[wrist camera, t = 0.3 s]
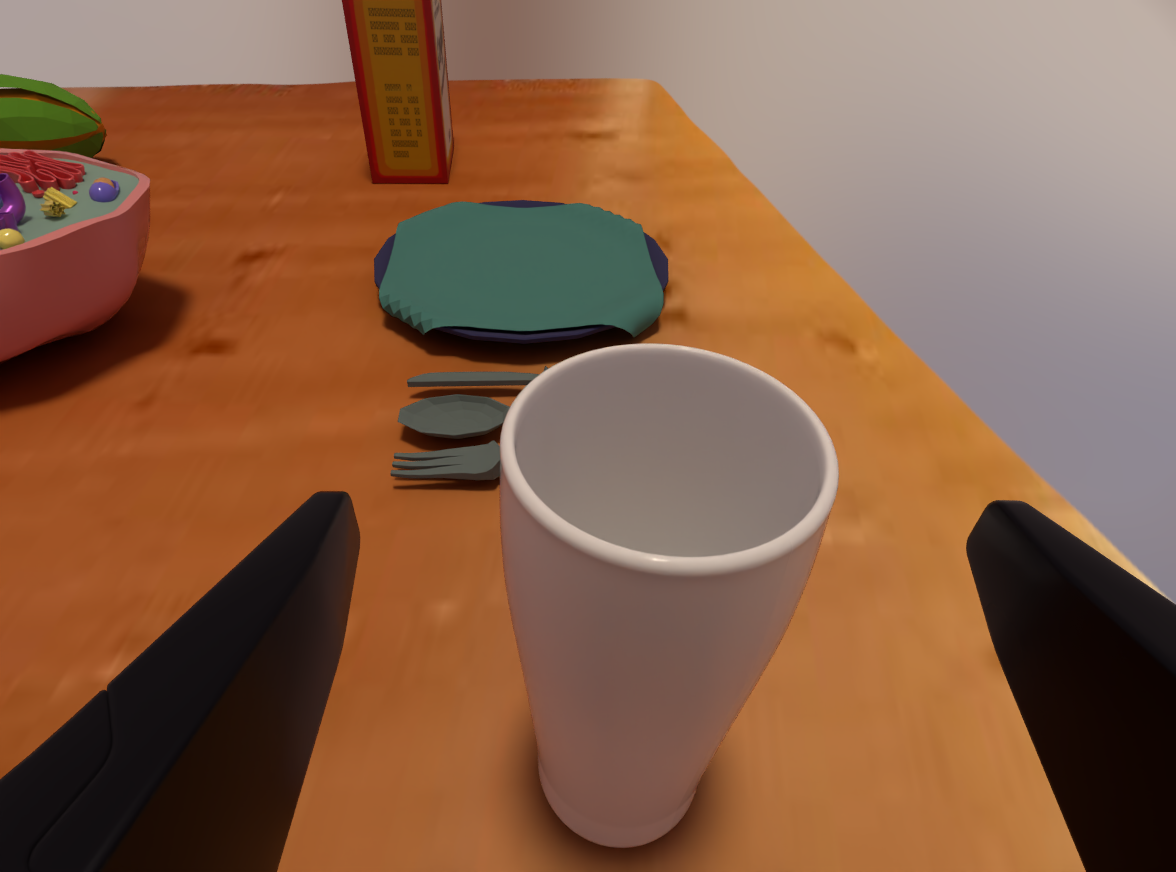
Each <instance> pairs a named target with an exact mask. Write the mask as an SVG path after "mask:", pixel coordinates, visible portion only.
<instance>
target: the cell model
mask: <svg viewBox="0 0 1176 872" xmlns="http://www.w3.org/2000/svg"><path fill="white" fill-rule="evenodd" d="M149 228H150V179H149V178H148V177H146V176H145V175H144V174H141V173H138V172H136V171H133V170H130V169H127V168H123V167H120V166H116V165H113V164H109V163H106V162H102V161H99V160H96V159H92V158H89V157H86V156H82V155H79V154H74V153H69V152H63V151H49V150H24V149H2V148H0V364H1V363H3V362H6V361H8V360H10V359H12V358H14V357H16V356H18V355H20V354H23V353H25V352H27V351H29V350H31V349H33V348H36V347H39V346H42V345H45V344H48V343H51V342H54V341H57V340H59V339H62V338H67V337H72V336H77V335H82V334H84V333H87V332H90V331H93V330H95V329H96V328H98V327H100V326H101V325H103V324H104V323H106V322H107V321H108V320H110V319H111V318H112V317H113V316H114V315H115V314H116V313H117V312H118V311H119V310H120V309H121V308H122V307H123V305H124V304H125V303H126V302H127V300H128V299H129V297H130V296H131V294H132V292H133V290H134V288H135V285H136V282H137V278H138V274H139V272H140V270H141V267H142V264H143V261H144V257H145V253H146V248H147V243H148V238H149Z"/></svg>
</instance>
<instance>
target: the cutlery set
mask: <svg viewBox="0 0 1176 872" xmlns="http://www.w3.org/2000/svg"><path fill="white" fill-rule="evenodd" d="M374 273H375V284H376V286H377V287H378V288H379V299H380V302H381V304H382V307H383V309H384V310H385V311H387V312H388V313H389V314H390V315H391V316H392V317H396V318H399V319H400V320H401V321H402V322H404V323H408V324H409V325H410V326H411V327H413V328H414V329H417V330H419V331H420V332H421V333H422V334H423V335H424V334H425V333H426V332H427V331H429V330H431V329H436V330H440V331H443V332H447V333H450V334H454V335H458V336H461V337H465V338H469V339H472V340H484V341H497V342H510V343H523V344H527V343H538V342H548V341H558V340H569V339H578V338H581V337H584V336H588V335H591V334H594V333H598V332H601V331H604V330H608V329H611V328H614V327H619V328H622V329H624V330H626V331H628V332H629V333H631V334H632V336H633V337H636V336H637V335H638V334H640V333H641V332H643V331H644V330H645V329H647V328H648V327H649V326H650V325H652V324H653V323H654V321H655V320H656V319H657V318H658V316H659V315H660V313H661V310H662V307H663V290H664V288H665V287H666V285H667V283H668V259H667V257H666V256H665V254H664V253H663V251H662V250H661V248H660V247H659V246H658V244H657V243H656V241H655V240H654V239H653V238H651V237H650V236H649V235H647V234H646V233H644V232H643V229H642V226H641V224H636V223H635V222H633V221H632V220H631V219H624V218H623V217H622V216H620V215H614V214H613V213H612V212H610V211H604V210H603V209H601V208H600V207H593V206H591V205H588V204H582V203H575V204H564V203H555V202H541V201H527V200H518V201H499V202H483V203H472V202H454V203H450V204H448V205H445V206H442V207H439V208H435V209H432V210H429V211H427V212H424V213H421V214H419V215H417V216H414V217H412V218H410V219H407V220H405V221H402V222H400V223H399V224H398V227H397V231H396V234H394V235H393V236H391V237H390V238H388V239H387V241H386V242H385V244H384V245H383V247H382V248H381V250H380V251H379V253H378V254H377V256H376V257H375V258H374ZM547 369H548V368H547V367H546V366H545V369H544V371H545V370H547ZM544 371H543V372H544ZM538 375H540V374H531V373H516V372H440V373H427V374H422V375H419V376H416V377H412V378H410V379H408V380H407V384H408V387H431V386H500V385H528V384H529V383H530V382H531V381H532V380H533V379H534V378H536V377H537V376H538ZM509 408H510V407H509V406H507V405H504V404H502V403H500V402H498V401H496V400H493V399H491V398H489V397H480V396H470V395H461V394H456V395H448V396H440V397H433V398H425V399H423V400H420V401H418V402H415V403H413V404H411V405H408V406H406V407H404V408H401V409H400V413H399V418H398V422H399V423H402V424H404V425H406V426H408V427H410V428H412V429H415V430H417V431H419V432H421V433H424V434H426V435H428V436H436V437H444V438H453V439H462V438H467V437H473V436H479V435H485V434H487V433H489V432H491V431H493V430H494V429H496V428H498V427H500V426H502V425H503V423H504V420H505V417H506V414H507V412H508V410H509ZM394 459H402V460H410V461H413V462H393V463H392V466H393V467H396V468H404V469H420V470H391V476H395V477H403V478H453V479H467V480H494V479H496V478H497V477H499V476H500V446H499V445H498V444H497V443H496V442H495V441H494V440H493V441H491V442H490V443H488V444H484V445H479V446H470V447H461V448H453V449H446V450H439V451H432V452H421V453H394Z"/></svg>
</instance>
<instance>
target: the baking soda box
mask: <svg viewBox="0 0 1176 872" xmlns="http://www.w3.org/2000/svg"><path fill="white" fill-rule="evenodd" d="M342 3H343V10H344V15H345V22H346V28H347V34H348V39H349V45H350V51H351V57H352V63H353V69H354V74H355V81H356V87H357V93H358V99H359V105H360V111H361V117H362V123H363V128H364V134H365V140H366V146H367V152H368V158H369V164H370V170H371V176H372V182H373V183H448V181H449V175H450V168H451V162H452V156H453V149H454V142H453V130H452V119H451V108H450V96H449V85H448V73H447V63H446V51H445V39H444V28H443V16H442V6H441V0H342Z"/></svg>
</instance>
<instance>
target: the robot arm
mask: <svg viewBox="0 0 1176 872" xmlns="http://www.w3.org/2000/svg"><path fill="white" fill-rule="evenodd" d="M359 549H360V531H359V527H358V523H357V520H356V516H355V512H354V508H353V504H352V500H351V498H350V496H349V494H348V493H346V492H343V491H320V492H317V493H315V494H313V495H312V496H311V497H310V498H309V499H308V500H307V501H306V502H305V503H304V504H302V505H301V506H300V507H299V508H298V509H297V510H296V511H295V512H294V513H293V514H292V515H291V516H289V517H288V518H287V519H286V520H285V521H284V522H283V523H282V524H281V525H280V526H279V527H278V528H276V529H275V530H274V531H273V532H272V533H271V534H270V535H269V536H268V537H267V538H266V539H265V540H264V541H262V542H261V543H260V544H259V545H258V546H257V547H256V548H255V549H254V550H253V551H252V552H251V553H249V554H248V555H247V556H246V557H245V558H244V559H243V560H242V561H241V562H240V563H239V564H238V565H236V566H235V567H234V568H233V569H232V570H231V571H230V572H229V573H228V574H227V575H226V576H225V577H224V578H222V579H221V580H220V581H219V582H218V583H217V584H216V585H215V586H214V587H213V588H212V589H211V590H209V591H208V592H207V593H206V594H205V595H204V596H203V597H202V598H201V599H200V600H199V601H198V602H196V603H195V604H194V605H193V606H192V607H191V608H190V609H189V610H188V611H187V612H186V613H185V614H184V615H182V616H181V617H180V618H179V619H178V620H177V621H176V622H175V623H174V624H173V625H172V626H171V627H169V628H168V629H167V630H166V631H165V632H164V633H163V634H162V635H161V636H160V637H159V638H158V639H156V640H155V641H154V642H153V643H152V644H151V645H150V646H149V647H148V648H147V649H146V650H145V651H144V652H142V653H141V654H140V655H139V656H138V657H137V658H136V659H135V660H134V661H133V662H132V663H131V664H129V665H128V666H127V667H126V668H125V669H124V670H123V671H122V672H121V673H120V674H119V675H118V676H116V677H115V678H114V679H113V680H112V681H111V682H110V683H109V684H108V686H107V691H106V690H102V691H100V692H99V693H98V694H97V695H96V696H95V697H93V698H92V699H91V700H90V701H89V702H88V703H87V704H86V705H85V706H84V707H83V708H82V709H80V710H79V711H78V712H77V713H76V714H75V715H74V716H73V717H72V718H71V719H69V720H68V721H67V722H66V723H65V724H64V725H63V726H62V727H60V728H59V729H58V730H57V731H56V732H55V733H54V734H53V735H51V736H50V737H49V738H48V739H47V740H46V741H45V742H44V743H42V744H41V745H40V746H39V747H38V748H37V749H36V750H35V751H33V752H32V753H31V754H30V755H29V756H28V757H27V758H25V759H24V760H23V761H22V762H20V763H19V764H18V765H17V766H16V767H14V768H13V769H12V770H11V771H10V772H8V773H7V774H6V775H5V776H4V777H2V778H1V779H0V872H277V870H278V866H279V863H280V859H281V856H282V853H283V849H284V846H285V842H286V839H287V836H288V832H289V829H290V826H291V822H292V819H293V815H294V812H295V809H296V805H297V802H298V798H299V795H300V792H301V788H302V785H303V782H304V778H305V775H306V771H307V768H308V765H309V761H310V758H311V754H312V751H313V748H314V744H315V741H316V737H317V734H318V731H319V727H320V724H321V721H322V717H323V714H324V710H325V707H326V704H327V700H328V697H329V693H330V690H331V687H332V683H333V680H334V677H335V673H336V670H337V666H338V663H339V659H340V655H341V651H342V648H343V642H344V637H345V632H346V626H347V620H348V614H349V608H350V602H351V596H352V591H353V585H354V579H355V573H356V567H357V561H358V555H359ZM966 551H967V557H968V560H969V564H970V567H971V570H972V574H973V577H974V581H975V584H976V588H977V591H978V595H979V598H980V601H981V605H982V608H983V612H984V615H985V619H986V622H987V626H988V629H989V632H990V636H991V639H992V642H993V645H994V648H995V651H996V654H997V656H998V659H999V661H1000V664H1001V667H1002V669H1003V672H1004V674H1005V676H1006V679H1007V681H1008V684H1009V686H1010V689H1011V691H1012V693H1013V696H1014V698H1015V701H1016V703H1017V706H1018V708H1019V710H1020V713H1021V715H1022V718H1023V720H1024V723H1025V725H1026V727H1027V730H1028V732H1029V735H1030V737H1031V739H1032V742H1033V744H1034V747H1035V749H1036V752H1037V754H1038V756H1039V759H1040V761H1041V764H1042V766H1043V769H1044V771H1045V773H1046V776H1047V778H1048V781H1049V783H1050V786H1051V788H1052V790H1053V793H1054V795H1055V798H1056V800H1057V803H1058V805H1059V807H1060V810H1061V812H1062V815H1063V817H1064V820H1065V822H1066V824H1067V827H1068V829H1069V832H1070V834H1071V836H1072V839H1073V841H1074V844H1075V846H1076V849H1077V851H1078V853H1079V856H1080V858H1081V861H1082V863H1083V866H1084V868H1085V870H1086V872H1176V605H1175V604H1174V603H1173V602H1171V601H1170V600H1168V599H1167V598H1165V597H1164V596H1162V595H1161V594H1159V593H1158V592H1156V591H1155V590H1153V589H1152V588H1151V587H1149V586H1148V585H1146V584H1145V583H1143V582H1142V581H1140V580H1139V579H1137V578H1136V577H1134V576H1133V575H1131V574H1130V573H1128V572H1127V571H1126V570H1124V569H1123V568H1121V567H1120V566H1118V565H1117V564H1115V563H1114V562H1112V561H1111V560H1109V559H1108V558H1106V557H1105V556H1104V555H1102V554H1101V553H1099V552H1098V551H1096V550H1095V549H1093V548H1092V547H1090V546H1089V545H1087V544H1086V543H1084V542H1083V541H1082V540H1080V539H1079V538H1077V537H1076V536H1074V535H1073V534H1071V533H1070V532H1068V531H1067V530H1065V529H1064V528H1062V527H1061V526H1060V525H1058V524H1057V523H1055V522H1054V521H1052V520H1051V519H1049V518H1048V517H1046V516H1045V515H1043V514H1042V513H1040V512H1039V511H1037V510H1036V509H1035V508H1033V507H1032V506H1030V505H1029V504H1027V503H1025V502H1022V501H1009V500H996V501H993V502H991V503H989V504H988V505H987V507H986V508H985V510H984V511H983V513H982V515H981V516H980V518H979V520H978V521H977V523H976V525H975V526H974V528H973V530H972V531H971V533H970V535H969V537H968V540H967V545H966Z"/></svg>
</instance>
